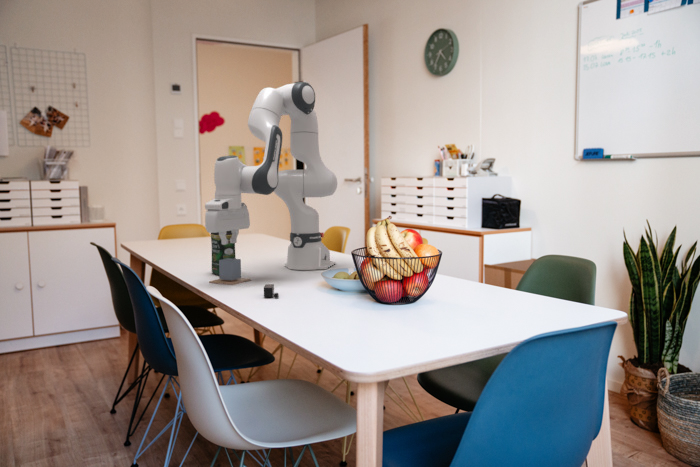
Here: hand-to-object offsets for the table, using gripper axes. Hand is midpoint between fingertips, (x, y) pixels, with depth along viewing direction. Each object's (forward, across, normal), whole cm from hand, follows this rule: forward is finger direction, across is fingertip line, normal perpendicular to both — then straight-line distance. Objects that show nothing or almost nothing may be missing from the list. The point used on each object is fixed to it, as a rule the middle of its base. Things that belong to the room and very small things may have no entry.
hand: (229, 243), depth 197 cm
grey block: (+12, 0, 0) cm, 12 cm away
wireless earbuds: (+14, +14, +27) cm, 33 cm away
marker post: (+13, 0, 0) cm, 13 cm away
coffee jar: (+13, -12, -12) cm, 22 cm away
